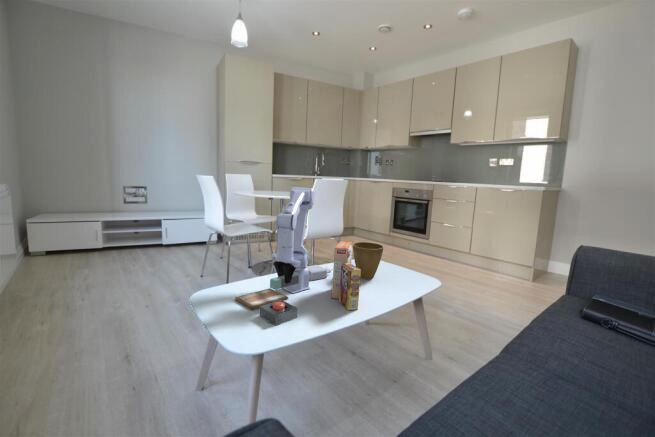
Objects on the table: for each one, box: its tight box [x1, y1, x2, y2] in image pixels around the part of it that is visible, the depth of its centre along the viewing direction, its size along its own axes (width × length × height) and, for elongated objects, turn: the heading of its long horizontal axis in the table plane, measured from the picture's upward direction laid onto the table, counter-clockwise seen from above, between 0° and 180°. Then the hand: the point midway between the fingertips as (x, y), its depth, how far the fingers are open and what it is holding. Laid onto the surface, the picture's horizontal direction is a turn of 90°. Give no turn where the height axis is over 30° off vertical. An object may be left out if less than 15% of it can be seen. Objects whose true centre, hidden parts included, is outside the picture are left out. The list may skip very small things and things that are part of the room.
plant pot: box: [352, 241, 385, 280], centre depth 152 cm, size 15×15×16 cm
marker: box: [269, 273, 299, 291], centre depth 117 cm, size 12×3×3 cm, turn 136°
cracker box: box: [331, 240, 354, 300], centre depth 129 cm, size 14×6×21 cm, turn 168°
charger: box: [306, 264, 333, 282], centre depth 152 cm, size 5×9×15 cm
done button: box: [273, 302, 285, 311], centre depth 106 cm, size 4×4×2 cm
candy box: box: [338, 263, 361, 311], centre depth 117 cm, size 9×4×15 cm, turn 21°
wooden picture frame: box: [234, 287, 289, 311], centre depth 120 cm, size 16×12×1 cm
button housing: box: [259, 300, 298, 327], centre depth 106 cm, size 9×9×4 cm
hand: (284, 281), depth 117 cm, fingers closed on marker, 3 cm apart
